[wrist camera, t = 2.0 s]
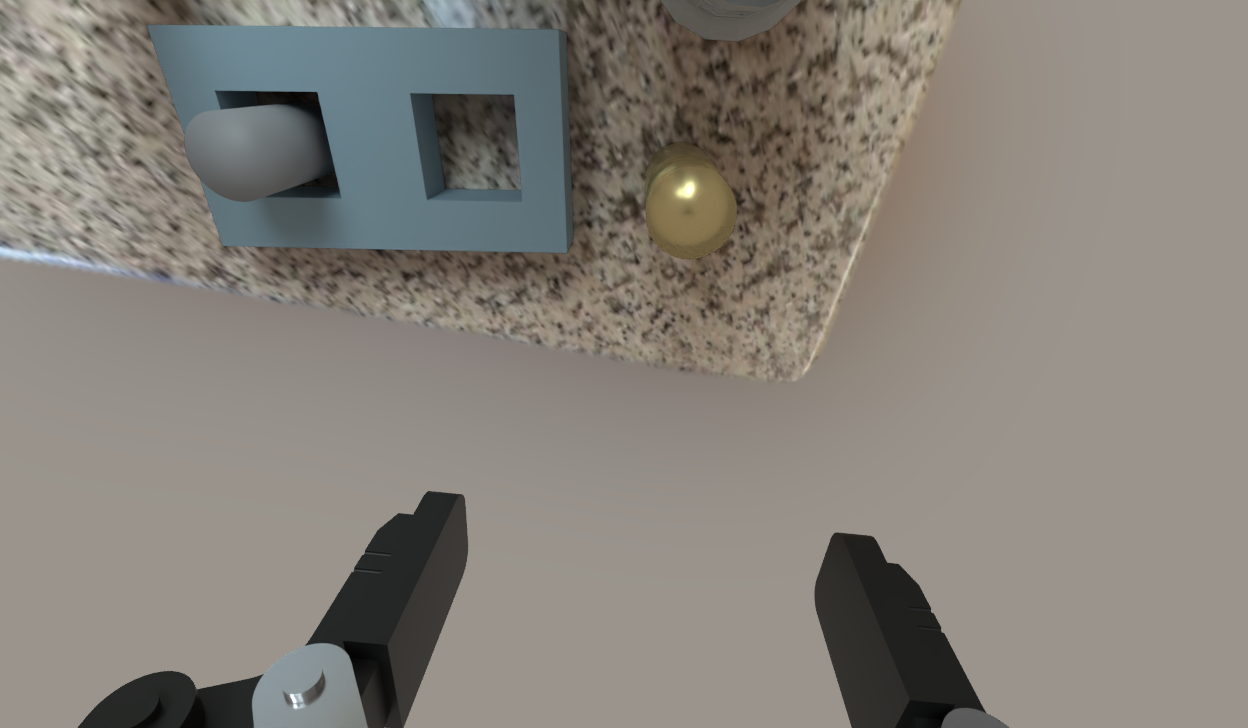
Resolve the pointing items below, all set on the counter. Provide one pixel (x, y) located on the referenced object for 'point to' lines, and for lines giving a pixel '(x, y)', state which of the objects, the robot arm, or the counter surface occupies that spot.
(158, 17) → the counter surface
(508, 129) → the counter surface
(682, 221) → the gold cylinder
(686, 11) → the french press
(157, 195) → the counter surface
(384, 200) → the jig
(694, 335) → the counter surface
